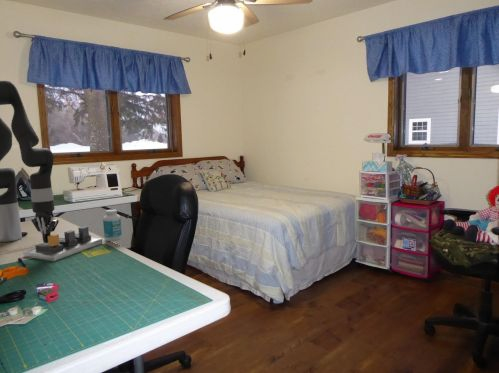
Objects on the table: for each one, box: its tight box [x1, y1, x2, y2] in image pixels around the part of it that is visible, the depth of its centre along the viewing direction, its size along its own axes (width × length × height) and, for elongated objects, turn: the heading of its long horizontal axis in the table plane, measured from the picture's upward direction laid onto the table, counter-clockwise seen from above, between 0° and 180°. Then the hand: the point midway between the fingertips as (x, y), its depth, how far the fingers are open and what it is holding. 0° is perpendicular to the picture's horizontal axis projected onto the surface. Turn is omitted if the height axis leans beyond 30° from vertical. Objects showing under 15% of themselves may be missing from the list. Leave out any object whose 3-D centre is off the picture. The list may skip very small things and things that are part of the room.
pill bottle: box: [102, 209, 123, 242], centre depth 161 cm, size 8×7×14 cm
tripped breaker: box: [48, 233, 60, 246], centre depth 140 cm, size 2×3×4 cm
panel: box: [23, 226, 104, 262], centre depth 148 cm, size 17×24×8 cm
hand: (47, 242), depth 142 cm, fingers closed
